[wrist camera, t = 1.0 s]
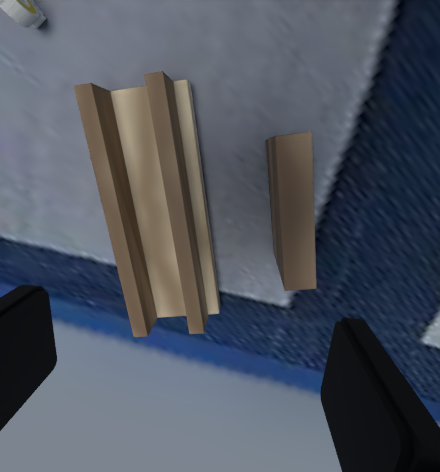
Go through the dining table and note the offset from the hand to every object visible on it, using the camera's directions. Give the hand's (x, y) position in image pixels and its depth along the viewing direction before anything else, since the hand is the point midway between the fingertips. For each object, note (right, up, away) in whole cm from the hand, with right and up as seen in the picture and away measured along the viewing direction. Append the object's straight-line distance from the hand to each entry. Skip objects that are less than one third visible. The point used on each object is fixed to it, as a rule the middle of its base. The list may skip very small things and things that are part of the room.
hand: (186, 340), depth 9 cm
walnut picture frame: (+8, +7, +21) cm, 23 cm away
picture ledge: (-5, +6, +22) cm, 24 cm away
